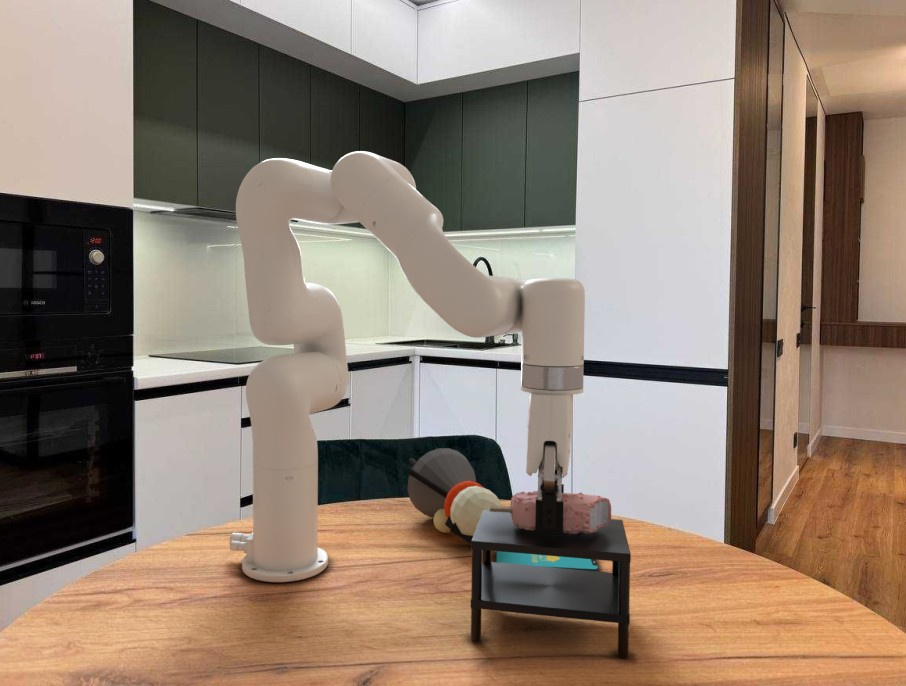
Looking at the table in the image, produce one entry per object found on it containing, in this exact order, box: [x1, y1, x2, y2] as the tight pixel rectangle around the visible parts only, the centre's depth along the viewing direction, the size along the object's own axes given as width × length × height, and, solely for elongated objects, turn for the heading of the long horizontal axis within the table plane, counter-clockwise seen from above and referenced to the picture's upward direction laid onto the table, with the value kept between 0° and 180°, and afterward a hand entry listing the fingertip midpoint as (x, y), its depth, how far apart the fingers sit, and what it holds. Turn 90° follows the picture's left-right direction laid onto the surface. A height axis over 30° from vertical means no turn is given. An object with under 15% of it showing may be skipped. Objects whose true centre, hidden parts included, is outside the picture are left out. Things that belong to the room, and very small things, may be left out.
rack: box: [470, 510, 632, 660], centre depth 86 cm, size 18×12×12 cm, turn 78°
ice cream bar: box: [490, 490, 612, 534], centre depth 85 cm, size 6×4×15 cm
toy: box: [407, 447, 503, 546], centre depth 122 cm, size 17×13×30 cm
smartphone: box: [495, 551, 600, 572], centre depth 106 cm, size 7×1×15 cm
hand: (549, 522), depth 85 cm, fingers closed on ice cream bar, 6 cm apart
